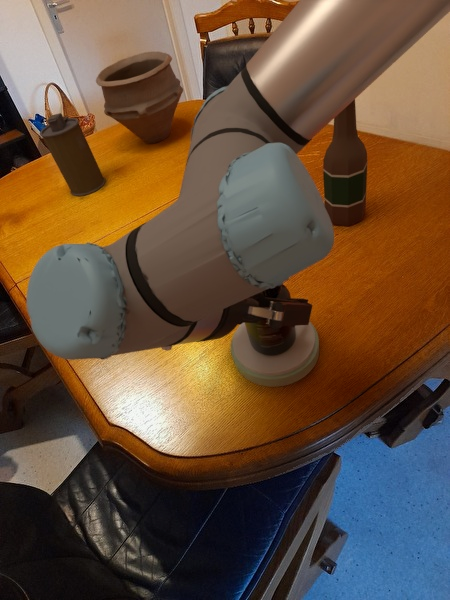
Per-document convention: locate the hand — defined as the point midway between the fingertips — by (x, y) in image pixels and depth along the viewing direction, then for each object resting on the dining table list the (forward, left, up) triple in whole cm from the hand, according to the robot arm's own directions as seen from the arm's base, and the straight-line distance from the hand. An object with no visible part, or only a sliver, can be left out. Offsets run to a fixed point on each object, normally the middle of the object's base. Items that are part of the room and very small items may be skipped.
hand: (278, 303), depth 58 cm
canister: (+67, -46, -7) cm, 82 cm away
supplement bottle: (+1, +3, -4) cm, 6 cm away
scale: (0, +3, -7) cm, 8 cm away
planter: (+59, -75, -7) cm, 95 cm away
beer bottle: (-6, -32, -7) cm, 33 cm away
